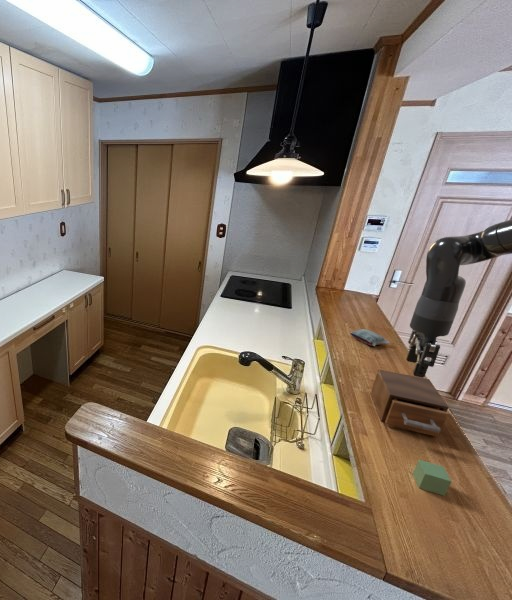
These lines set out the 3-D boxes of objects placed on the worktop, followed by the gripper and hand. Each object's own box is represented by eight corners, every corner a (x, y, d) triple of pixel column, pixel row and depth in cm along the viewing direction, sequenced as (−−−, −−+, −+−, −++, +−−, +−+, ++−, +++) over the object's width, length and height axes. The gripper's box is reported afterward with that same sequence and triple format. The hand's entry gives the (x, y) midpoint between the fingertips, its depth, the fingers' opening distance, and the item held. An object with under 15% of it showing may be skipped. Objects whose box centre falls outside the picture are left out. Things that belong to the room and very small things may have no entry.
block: (437, 480, 77) (443, 466, 75) (444, 496, 73) (451, 481, 72) (412, 473, 79) (418, 459, 77) (418, 488, 75) (425, 473, 74)
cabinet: (436, 435, 90) (448, 407, 87) (380, 421, 96) (389, 394, 93) (419, 404, 103) (429, 379, 99) (370, 393, 108) (378, 369, 105)
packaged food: (364, 335, 148) (366, 325, 146) (389, 347, 137) (392, 337, 135) (347, 337, 147) (350, 327, 145) (371, 349, 136) (374, 339, 134)
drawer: (445, 449, 85) (455, 425, 82) (390, 435, 90) (398, 412, 87) (421, 408, 100) (429, 386, 97) (375, 397, 105) (382, 377, 102)
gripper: (464, 327, 75) (440, 386, 81) (445, 307, 87) (425, 360, 92) (421, 321, 79) (401, 377, 85) (408, 303, 90) (392, 353, 96)
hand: (414, 368), depth 88 cm, fingers open, 8 cm apart
